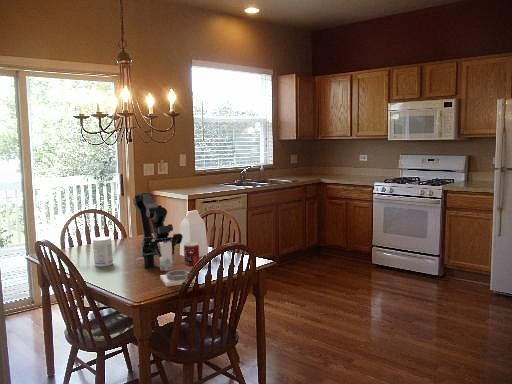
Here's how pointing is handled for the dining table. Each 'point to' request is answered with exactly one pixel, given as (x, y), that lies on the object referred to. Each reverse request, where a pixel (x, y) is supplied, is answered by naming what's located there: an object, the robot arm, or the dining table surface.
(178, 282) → the flange plate
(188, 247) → the canned food
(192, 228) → the milk
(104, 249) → the supplement tub
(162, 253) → the tube
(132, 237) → the dining table surface
